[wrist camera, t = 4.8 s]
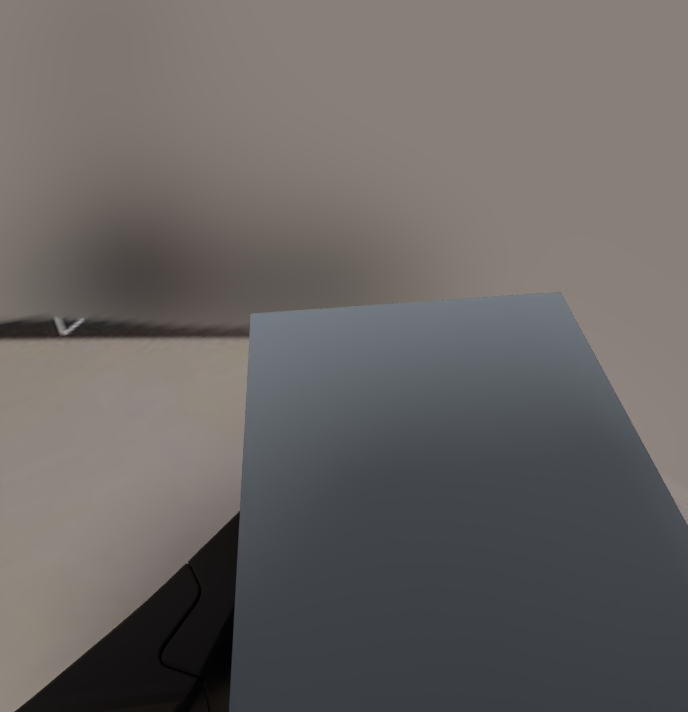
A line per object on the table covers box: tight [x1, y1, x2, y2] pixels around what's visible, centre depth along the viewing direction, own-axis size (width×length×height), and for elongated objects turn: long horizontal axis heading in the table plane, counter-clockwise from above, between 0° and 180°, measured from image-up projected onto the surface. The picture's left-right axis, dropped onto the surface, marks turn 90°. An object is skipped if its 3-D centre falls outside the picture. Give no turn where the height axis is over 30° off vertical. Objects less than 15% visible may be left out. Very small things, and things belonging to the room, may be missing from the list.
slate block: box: [229, 292, 688, 712], centre depth 9 cm, size 4×4×12 cm
